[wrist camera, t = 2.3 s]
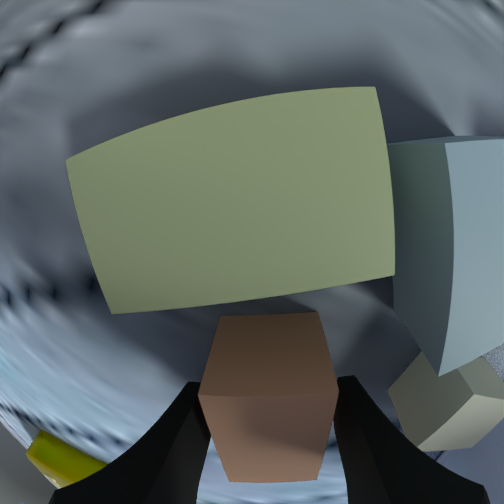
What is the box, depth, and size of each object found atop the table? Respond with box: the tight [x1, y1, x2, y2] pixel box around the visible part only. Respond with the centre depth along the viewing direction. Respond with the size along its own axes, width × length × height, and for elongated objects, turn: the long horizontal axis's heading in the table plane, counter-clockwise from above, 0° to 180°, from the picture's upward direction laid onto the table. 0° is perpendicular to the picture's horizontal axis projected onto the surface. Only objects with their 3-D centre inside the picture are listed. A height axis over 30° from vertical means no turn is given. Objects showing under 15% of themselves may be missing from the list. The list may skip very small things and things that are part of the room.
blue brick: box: [387, 136, 504, 377], centre depth 6 cm, size 6×4×4 cm, turn 15°
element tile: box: [26, 430, 108, 489], centre depth 17 cm, size 15×15×5 cm
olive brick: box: [65, 87, 395, 314], centre depth 6 cm, size 6×4×4 cm, turn 101°
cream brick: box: [387, 351, 504, 452], centre depth 9 cm, size 6×4×4 cm, turn 65°
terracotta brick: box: [198, 312, 339, 483], centre depth 9 cm, size 6×4×4 cm, turn 4°
